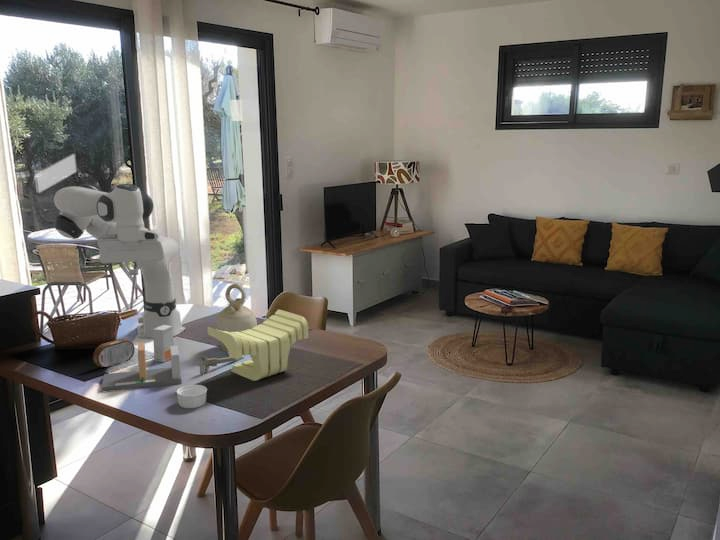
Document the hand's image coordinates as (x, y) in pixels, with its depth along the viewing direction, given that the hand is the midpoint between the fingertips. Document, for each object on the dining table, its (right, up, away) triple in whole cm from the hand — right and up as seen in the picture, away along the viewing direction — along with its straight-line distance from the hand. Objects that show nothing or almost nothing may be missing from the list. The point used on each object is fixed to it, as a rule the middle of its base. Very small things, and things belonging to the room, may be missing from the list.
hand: (133, 274), depth 208 cm
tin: (-10, -32, +11) cm, 35 cm away
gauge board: (+5, -35, -4) cm, 35 cm away
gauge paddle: (+5, -33, -6) cm, 34 cm away
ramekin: (+26, -39, -21) cm, 51 cm away
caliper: (+28, -33, +10) cm, 44 cm away
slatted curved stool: (+42, -34, +4) cm, 54 cm away
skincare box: (+5, -31, +16) cm, 35 cm away
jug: (+29, -28, +29) cm, 50 cm away
